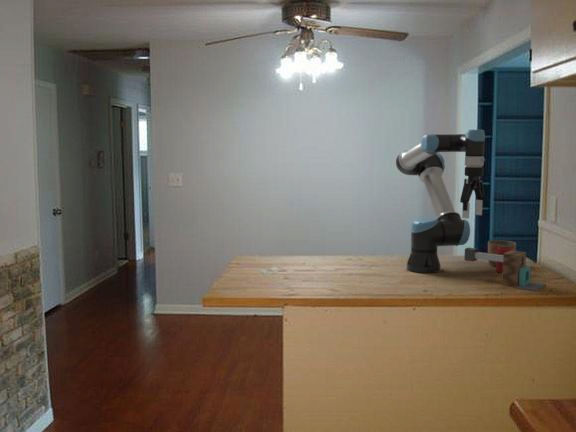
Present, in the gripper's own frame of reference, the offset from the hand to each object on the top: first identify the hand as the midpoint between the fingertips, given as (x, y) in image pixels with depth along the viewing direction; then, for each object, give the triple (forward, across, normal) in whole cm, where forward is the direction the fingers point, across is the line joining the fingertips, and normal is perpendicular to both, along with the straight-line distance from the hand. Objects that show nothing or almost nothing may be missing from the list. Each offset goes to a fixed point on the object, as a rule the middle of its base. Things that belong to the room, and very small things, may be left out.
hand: (472, 216), depth 251 cm
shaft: (+19, 0, -10) cm, 21 cm away
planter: (+27, +32, -2) cm, 42 cm away
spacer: (+26, 0, -23) cm, 34 cm away
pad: (+26, 0, -26) cm, 37 cm away
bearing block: (+26, 0, -19) cm, 32 cm away
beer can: (+26, +19, -8) cm, 33 cm away
